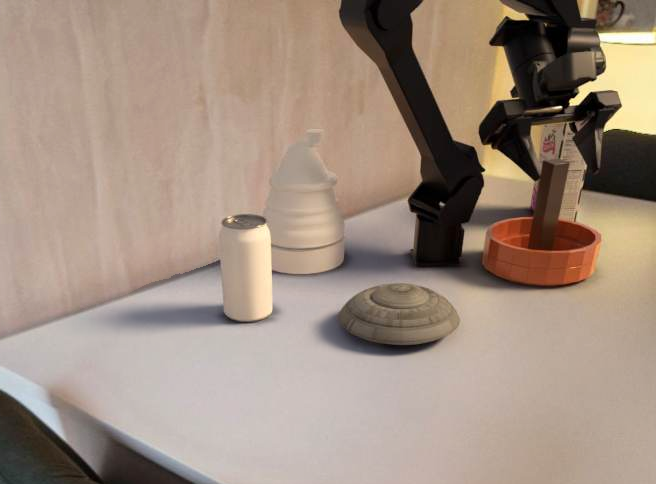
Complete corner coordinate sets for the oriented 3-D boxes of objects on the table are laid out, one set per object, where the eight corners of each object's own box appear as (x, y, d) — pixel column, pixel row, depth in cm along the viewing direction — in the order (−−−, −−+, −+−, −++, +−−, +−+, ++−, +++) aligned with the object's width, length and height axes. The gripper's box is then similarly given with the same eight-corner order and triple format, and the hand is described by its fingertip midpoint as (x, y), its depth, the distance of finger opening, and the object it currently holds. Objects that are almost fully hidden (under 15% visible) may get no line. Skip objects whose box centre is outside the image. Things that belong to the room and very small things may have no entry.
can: (236, 327, 98) (231, 232, 90) (216, 309, 102) (209, 218, 95) (281, 316, 100) (279, 223, 93) (259, 300, 105) (255, 209, 97)
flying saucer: (317, 317, 99) (318, 276, 96) (415, 296, 104) (419, 256, 101) (376, 364, 89) (379, 320, 85) (482, 338, 93) (489, 295, 90)
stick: (515, 261, 112) (532, 159, 103) (541, 257, 113) (560, 156, 104) (532, 271, 109) (552, 166, 100) (558, 267, 110) (580, 163, 101)
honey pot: (351, 247, 120) (356, 122, 109) (334, 277, 111) (337, 142, 100) (273, 242, 123) (270, 119, 112) (249, 270, 114) (243, 139, 103)
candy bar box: (527, 208, 134) (545, 104, 124) (556, 207, 134) (576, 103, 124) (544, 229, 125) (565, 118, 115) (575, 228, 125) (599, 117, 115)
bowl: (496, 290, 105) (501, 254, 102) (471, 251, 117) (475, 218, 114) (609, 287, 105) (618, 250, 102) (572, 248, 117) (579, 215, 114)
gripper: (505, 26, 92) (541, 144, 91) (632, 18, 97) (668, 130, 95) (462, 90, 103) (494, 196, 101) (578, 79, 108) (610, 181, 106)
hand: (567, 175), depth 101 cm, fingers open, 9 cm apart
